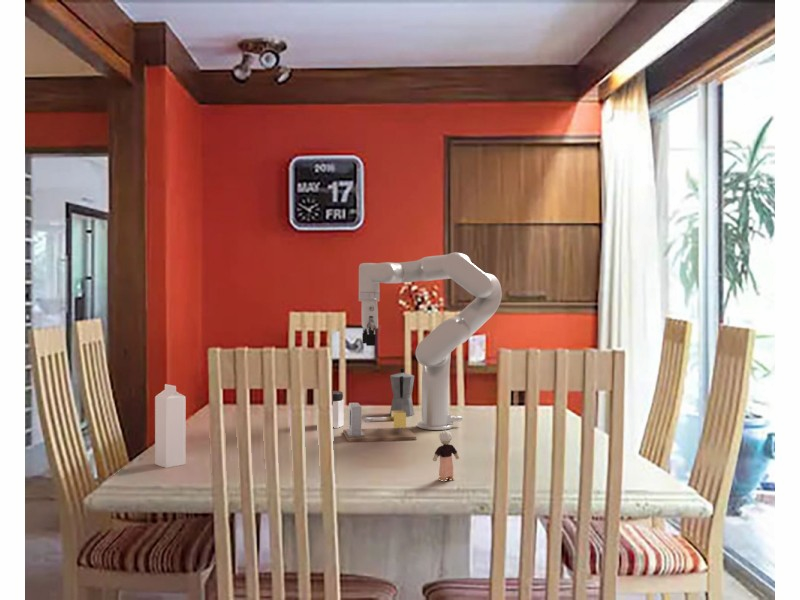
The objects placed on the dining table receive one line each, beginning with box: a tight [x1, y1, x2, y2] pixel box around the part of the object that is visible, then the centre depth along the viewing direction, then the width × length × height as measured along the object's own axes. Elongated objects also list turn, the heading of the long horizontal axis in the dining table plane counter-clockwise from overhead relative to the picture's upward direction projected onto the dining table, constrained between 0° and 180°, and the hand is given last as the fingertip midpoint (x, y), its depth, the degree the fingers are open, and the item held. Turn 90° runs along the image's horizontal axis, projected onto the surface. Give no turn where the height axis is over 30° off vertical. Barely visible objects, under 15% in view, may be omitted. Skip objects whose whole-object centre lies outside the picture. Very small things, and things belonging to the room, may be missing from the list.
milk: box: [154, 383, 187, 469], centre depth 201 cm, size 6×6×22 cm
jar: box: [332, 390, 345, 429], centre depth 257 cm, size 9×8×12 cm
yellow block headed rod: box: [362, 410, 407, 428], centre depth 241 cm, size 14×5×5 cm, turn 101°
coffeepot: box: [389, 367, 415, 417], centre depth 280 cm, size 15×9×18 cm, turn 178°
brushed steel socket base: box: [345, 402, 365, 437], centre depth 240 cm, size 5×10×10 cm, turn 11°
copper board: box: [342, 427, 417, 443], centre depth 241 cm, size 22×15×1 cm
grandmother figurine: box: [432, 430, 460, 481], centre depth 188 cm, size 8×4×13 cm, turn 131°
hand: (368, 344), depth 264 cm, fingers open, 9 cm apart
